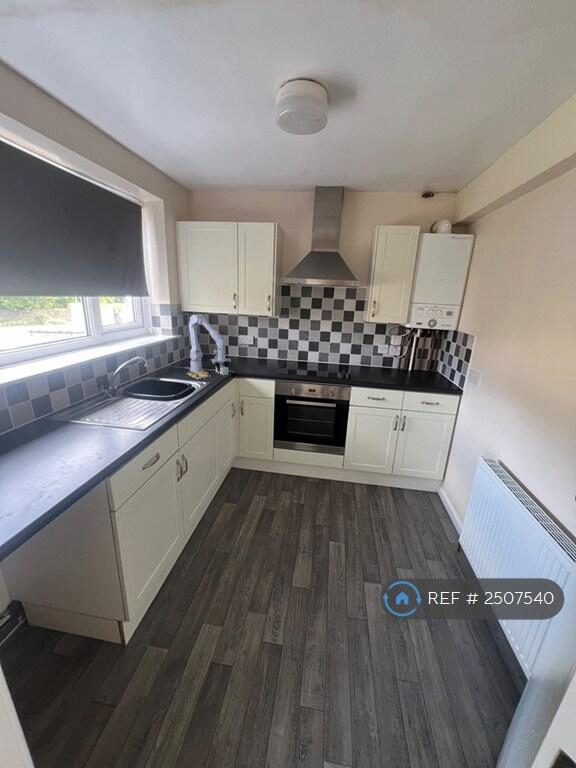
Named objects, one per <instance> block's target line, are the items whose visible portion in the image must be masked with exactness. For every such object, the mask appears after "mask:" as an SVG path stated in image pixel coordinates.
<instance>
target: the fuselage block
mask: <svg viewBox="0 0 576 768" xmlns="http://www.w3.org/2000/svg"><path fill="white" fill-rule="evenodd" d="M217 372H218V370H217V367H216V366H215V373H217ZM219 373H220V374H219ZM217 374H219V375H221V374H222V375H221V376H225V375H229V367H228V366H227V367H225V366H224V365H220V372H218V373H217Z"/></svg>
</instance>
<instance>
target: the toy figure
mask: <svg viewBox="0 0 576 768" xmlns="http://www.w3.org/2000/svg"><path fill="white" fill-rule="evenodd" d="M213 354H215V356H214V358H212V359H210V361H211V362H213V360H218V349H214V350H213ZM225 359H228V358H226V357H225ZM219 364H220V365H222V366H224V363H223V362H220V363H219ZM213 365H215V363H213Z"/></svg>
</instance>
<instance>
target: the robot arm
mask: <svg viewBox="0 0 576 768" xmlns="http://www.w3.org/2000/svg"><path fill="white" fill-rule="evenodd" d="M199 325H202V326H203V327H204V328H205V329H206V330H207V331H208V332H209V333H210V334H209V335H210V337H211V338H212V339H213V340H214V341H215V344H216V346H217V351H218V360H213V361H212V364H214V363H215V364H214V365H215V368H216V367H217V370H218V372H220V364H219V363H220V362H223V366H225V367H227V368H228V367H229V364H230V362H231V361H232V360H231V358H227V359H226V344H227V340H226V338H224V337H223V336H221V334H220V333H219V331H218V330H216V329H214V328H213V327H212V326H211V325H210V323H209V322H208V321H207V319H206V317H205V316H204V314H201V313H200V314H193V315H191V316H190V317H189V322H188V329H189V337H190V343H191V344H190V345H191V349H190V353H189V358H190V362H189V364H190V368H189V371H190V370H191V371H193V372H198V371H199V369H201V370H203V369H202V368H203V366H202V358H203V357H204V355H203V354H204V353H203V351H202V349H201V348H200V345H199V337H198V330H197V327H198V326H199ZM203 371H205V370H203Z"/></svg>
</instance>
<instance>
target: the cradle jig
mask: <svg viewBox="0 0 576 768" xmlns="http://www.w3.org/2000/svg"><path fill="white" fill-rule="evenodd" d="M186 375H188V376H190V377H192V378H194V379H195V378H196V379H195V380H202V379H201V378H203V379H207V378H208V377H210V378H212V375H210V373H209V372H208V371H205V370H204V371H203V369H202V370H201V369H199V371H198V372H193V371H191V370H190V369H189V370H188V372H186ZM208 379H209V378H208Z"/></svg>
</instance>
